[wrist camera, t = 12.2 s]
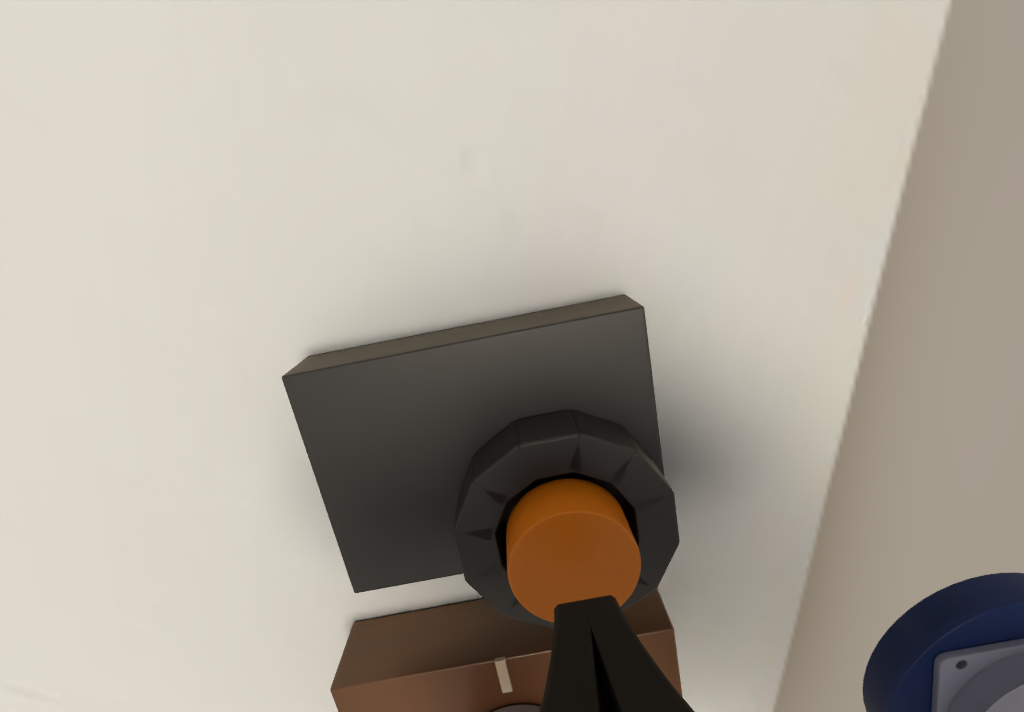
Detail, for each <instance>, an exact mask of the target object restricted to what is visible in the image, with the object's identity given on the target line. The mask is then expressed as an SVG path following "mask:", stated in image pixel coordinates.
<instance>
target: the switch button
mask: <svg viewBox="0 0 1024 712" xmlns="http://www.w3.org/2000/svg"><path fill="white" fill-rule="evenodd" d="M506 544H507V574H508V581H509V584H510V587H511V590H512V592H513V594H514V595H515V597H516V598H517V600H518V601H519V602H520V603H521V605H522V606H523V607H524V608H526V609H527V610H528V611H529V612H531V613H532V614H534V615H535V616H537V617H539V618H541V619H544V620H547V621H550V622H553V623H554V608H555V607H556V606H557V605H558V604H562V603H568V602H574V601H579V600H585V599H590V598H596V597H602V596H607V595H612V596H613V597H615V598H616V600H617V602H618V604H619V606H622V605H623V604H624V603H625V602H626V601H627V599H628V598H629V597H630V595H631V594H632V593H633V591H634V589H635V587H636V585H637V582H638V580H639V576H640V571H641V556H640V552H639V548H638V546H637V543H636V541H635V538H634V536H633V534H632V531H631V529H630V527H629V524H628V522H627V520H626V517H625V515H624V512H623V510H622V508H621V506H620V504H619V503H618V501H617V500H616V499H615V498H614V497H613V496H612V495H611V494H610V493H609V492H608V491H607V490H605V489H604V488H602V487H600V486H598V485H597V484H594V483H592V482H589V481H585V480H581V479H573V478H568V479H557V480H553V481H549V482H546V483H543V484H541V485H539V486H537V487H535V488H533V489H532V490H530V491H529V492H528V493H526V494H525V495H524V496H523V497H522V498H521V499H520V500H519V501H518V503H517V504H516V505H515V507H514V508H513V510H512V512H511V514H510V516H509V519H508V523H507V529H506Z"/></svg>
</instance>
